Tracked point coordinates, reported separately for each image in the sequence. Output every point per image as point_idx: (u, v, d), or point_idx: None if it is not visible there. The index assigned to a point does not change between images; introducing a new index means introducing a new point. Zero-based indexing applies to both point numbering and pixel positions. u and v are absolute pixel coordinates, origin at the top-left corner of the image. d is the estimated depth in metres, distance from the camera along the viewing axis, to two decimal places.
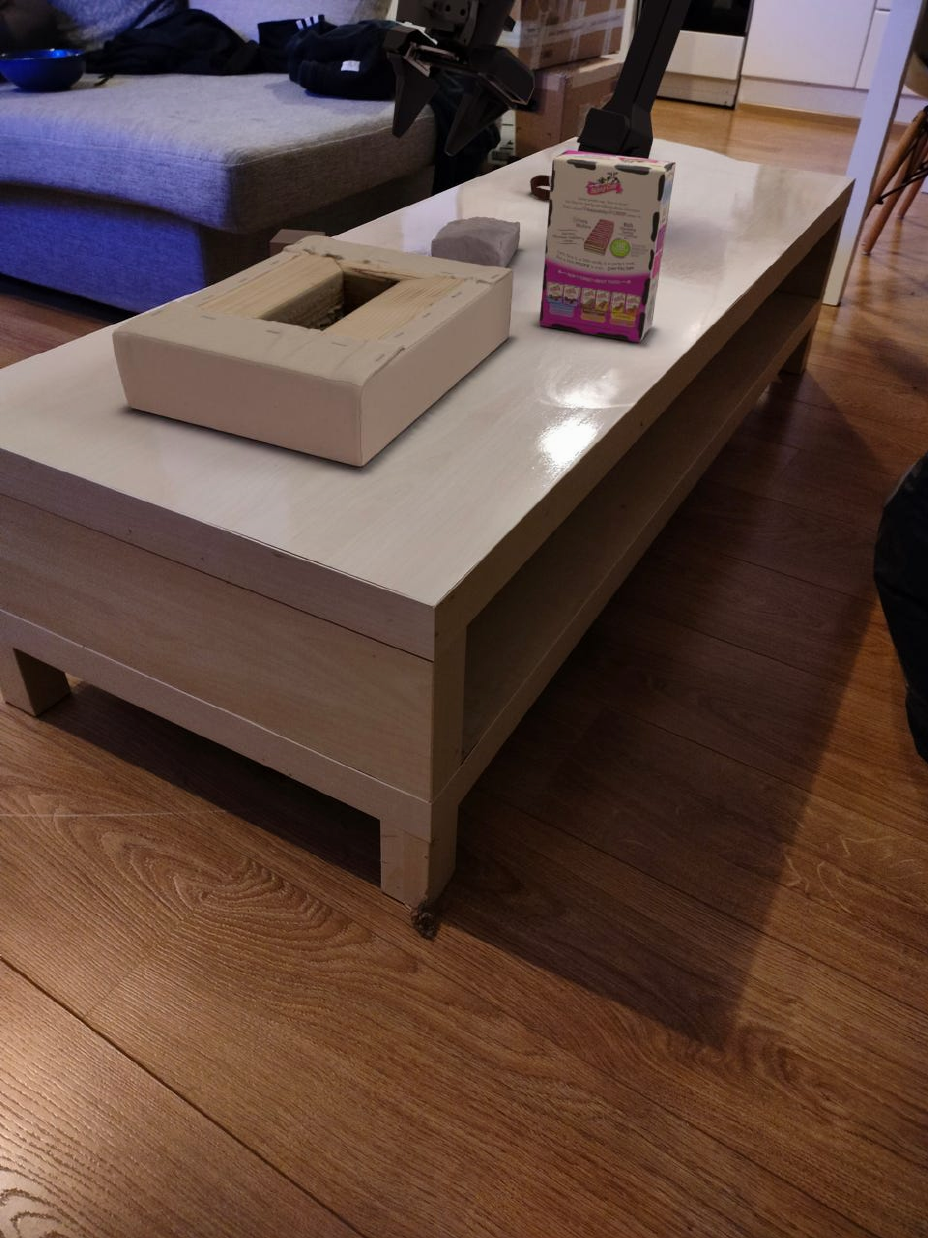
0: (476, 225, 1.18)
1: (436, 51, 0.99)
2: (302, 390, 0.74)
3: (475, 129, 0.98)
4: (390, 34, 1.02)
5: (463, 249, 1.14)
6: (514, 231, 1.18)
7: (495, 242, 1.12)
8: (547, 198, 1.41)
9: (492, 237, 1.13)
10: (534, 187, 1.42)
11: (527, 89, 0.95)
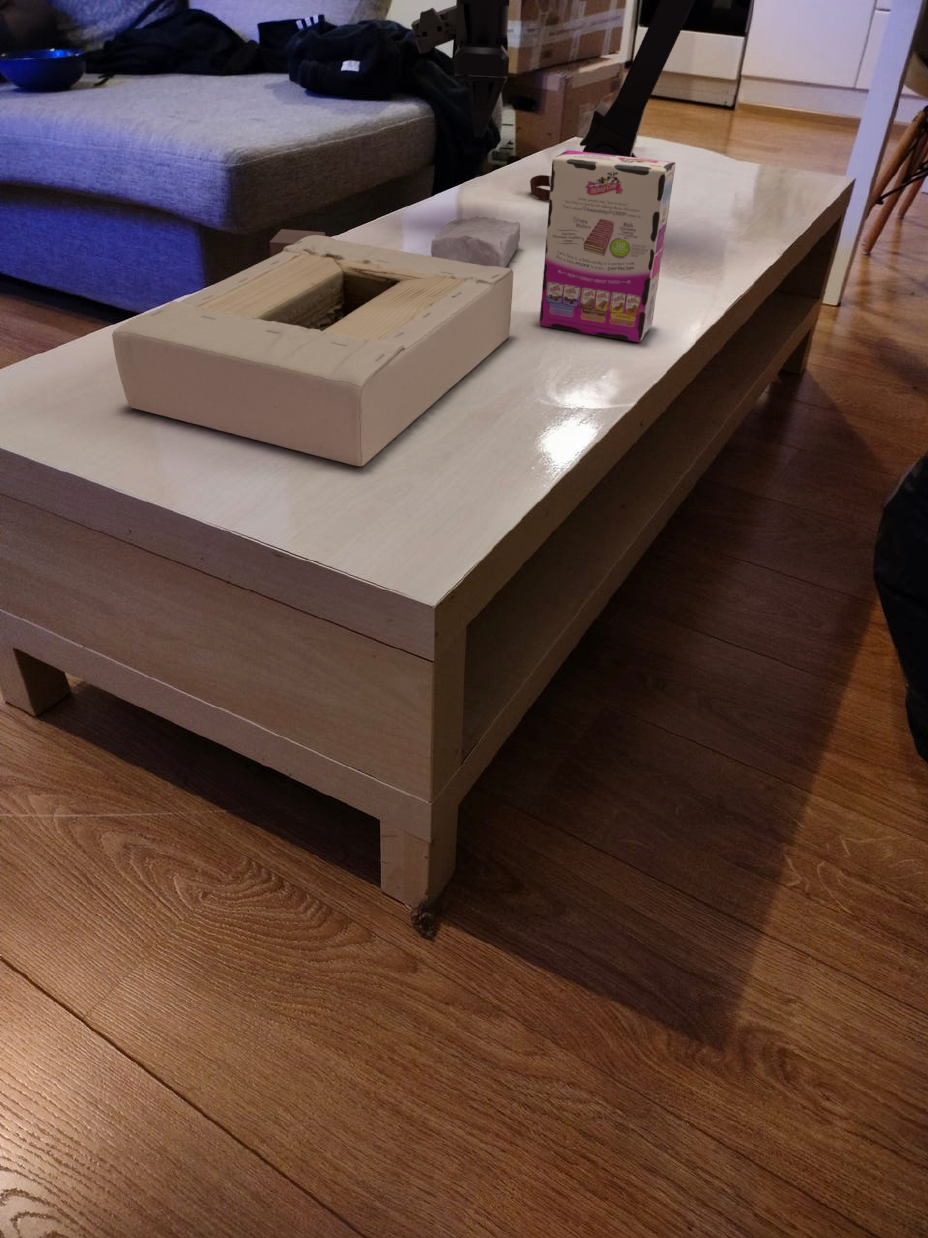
0: (475, 225, 1.18)
1: None
2: (302, 390, 0.74)
3: (488, 108, 1.16)
4: None
5: (463, 249, 1.14)
6: (514, 231, 1.18)
7: (495, 242, 1.12)
8: (547, 198, 1.41)
9: (492, 237, 1.13)
10: (534, 187, 1.42)
11: (498, 66, 1.09)
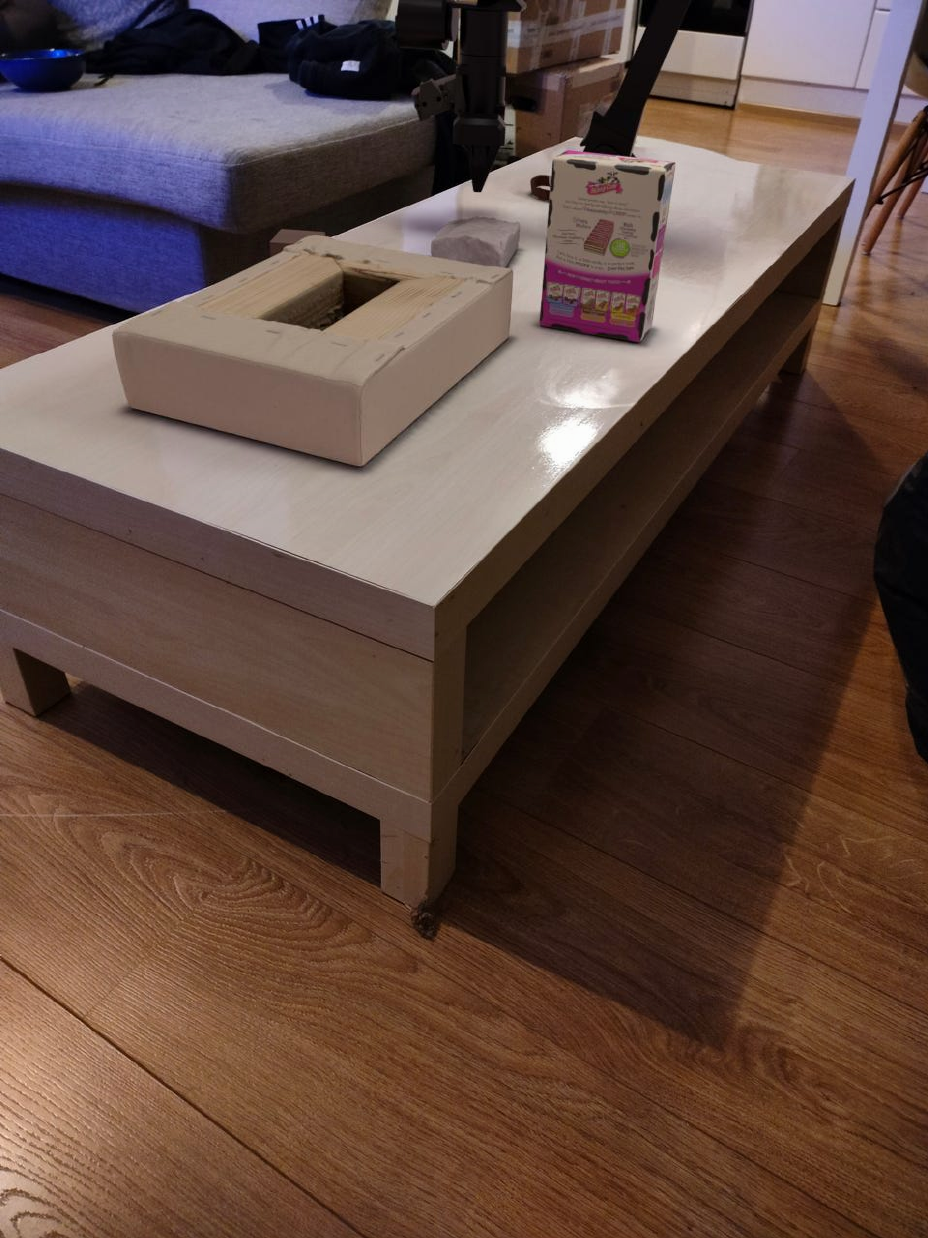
0: (475, 225, 1.18)
1: None
2: (302, 390, 0.74)
3: (486, 167, 1.23)
4: None
5: (462, 249, 1.14)
6: (514, 231, 1.18)
7: (495, 242, 1.12)
8: (547, 198, 1.41)
9: (492, 237, 1.13)
10: (534, 187, 1.42)
11: (494, 136, 1.13)
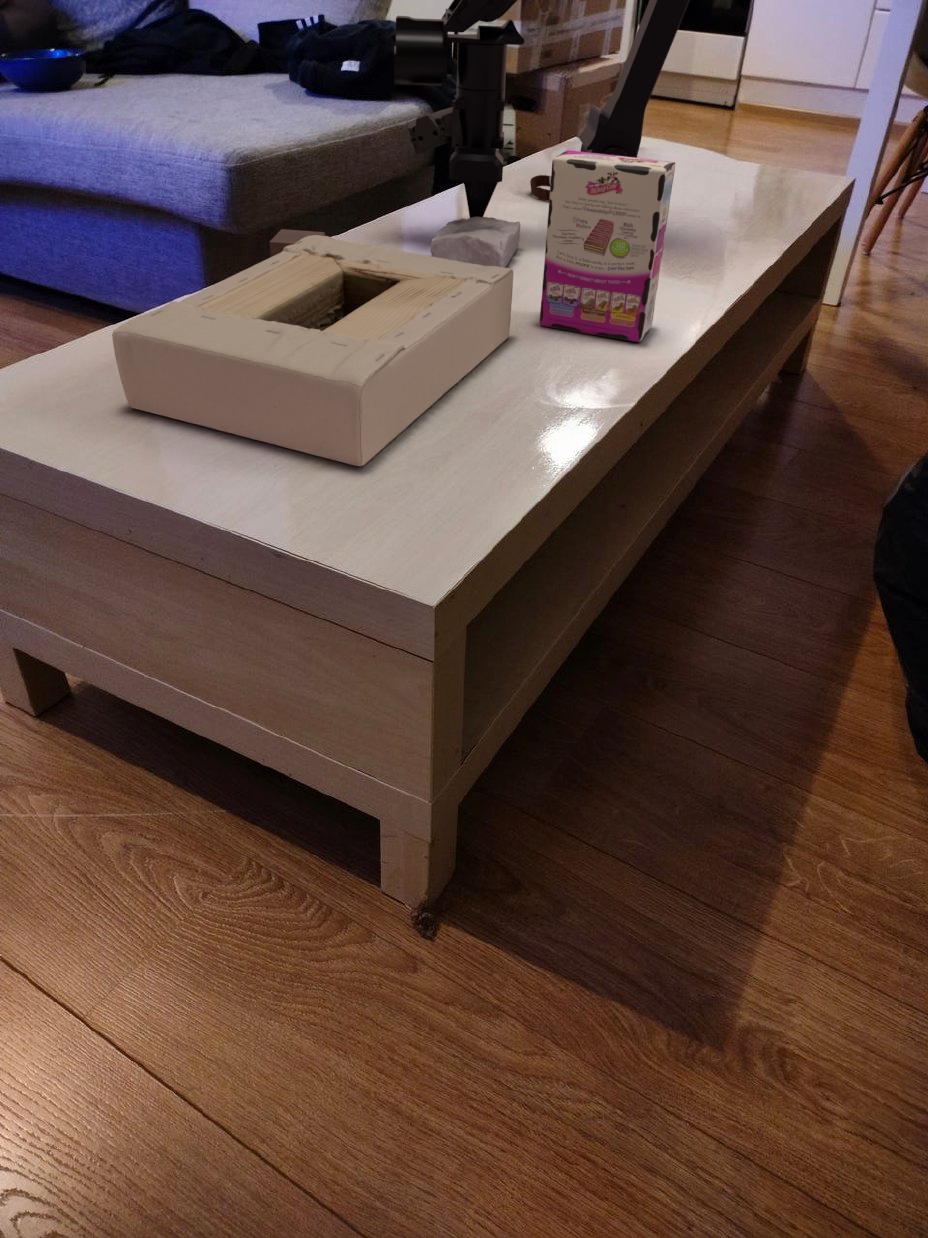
0: (475, 225, 1.18)
1: None
2: (302, 390, 0.74)
3: (484, 200, 1.20)
4: None
5: (462, 249, 1.14)
6: (514, 231, 1.18)
7: (495, 242, 1.12)
8: (547, 198, 1.41)
9: (492, 237, 1.13)
10: (534, 187, 1.42)
11: (492, 172, 1.11)
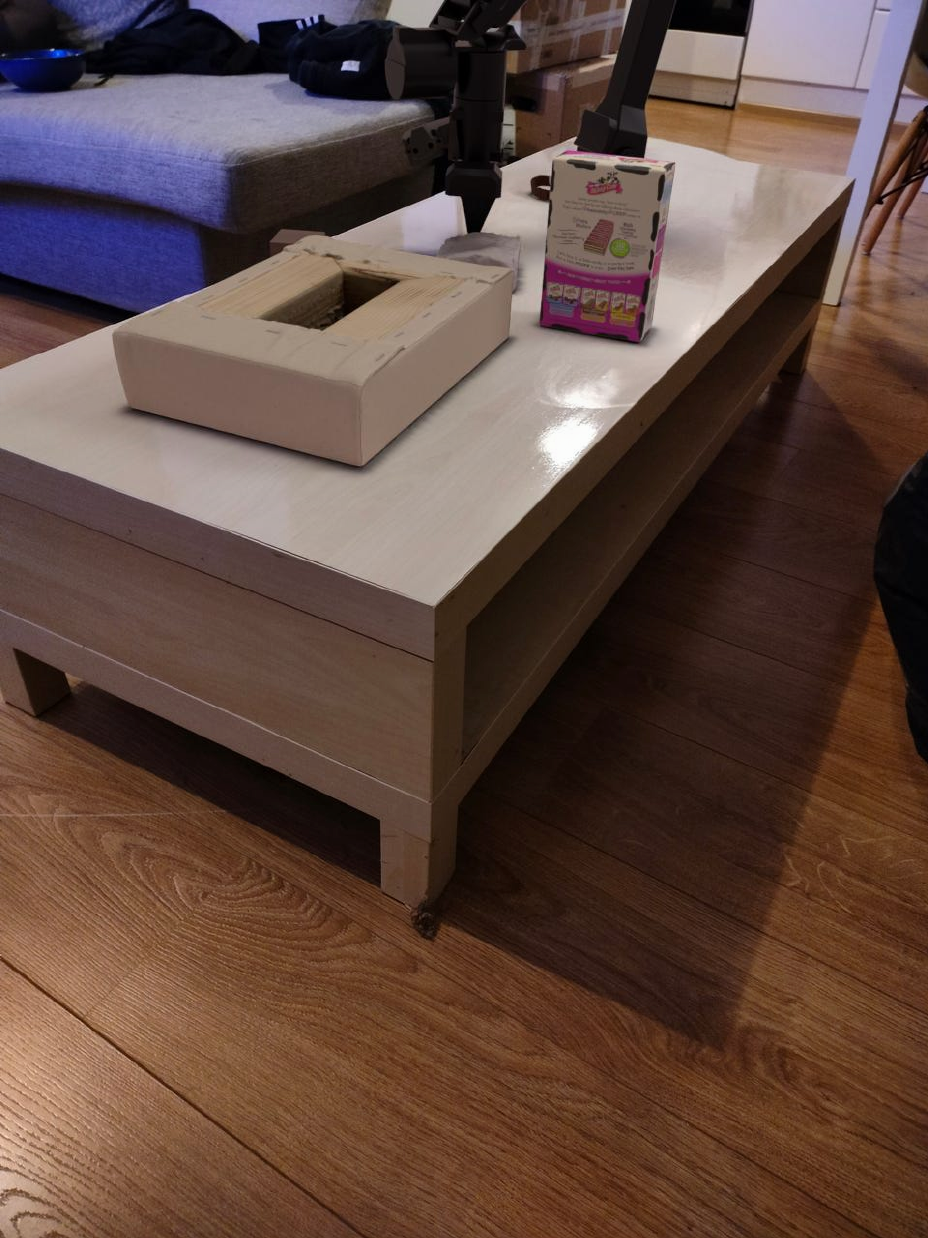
0: (478, 242, 1.13)
1: None
2: (302, 390, 0.74)
3: (482, 215, 1.15)
4: None
5: None
6: (518, 246, 1.13)
7: (508, 259, 1.07)
8: (547, 198, 1.41)
9: (503, 254, 1.07)
10: (534, 187, 1.42)
11: (490, 188, 1.05)
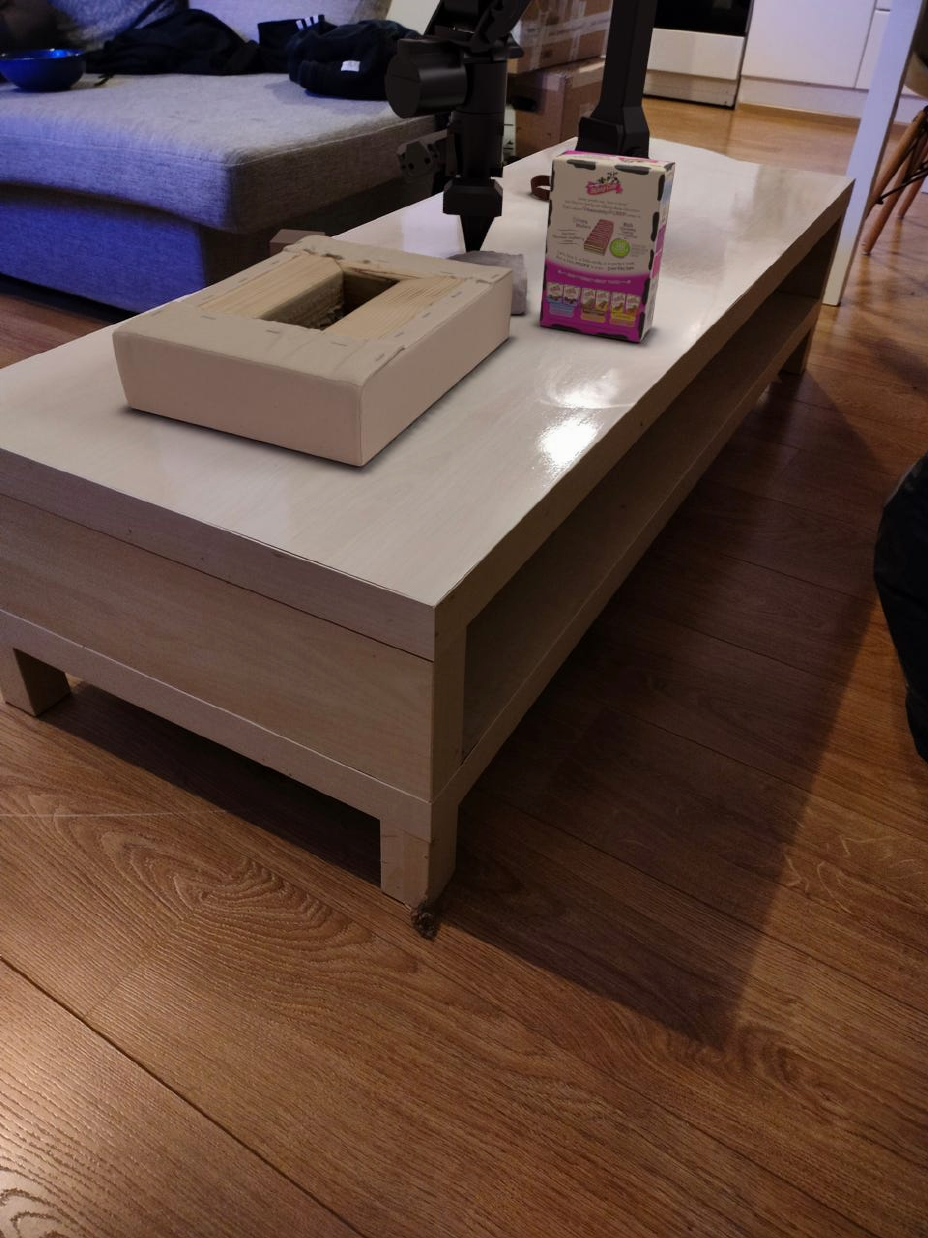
0: (480, 261, 1.07)
1: None
2: (302, 390, 0.74)
3: (482, 232, 1.09)
4: None
5: None
6: (523, 265, 1.08)
7: (517, 280, 1.02)
8: (547, 198, 1.41)
9: None
10: (534, 187, 1.42)
11: (490, 206, 0.99)
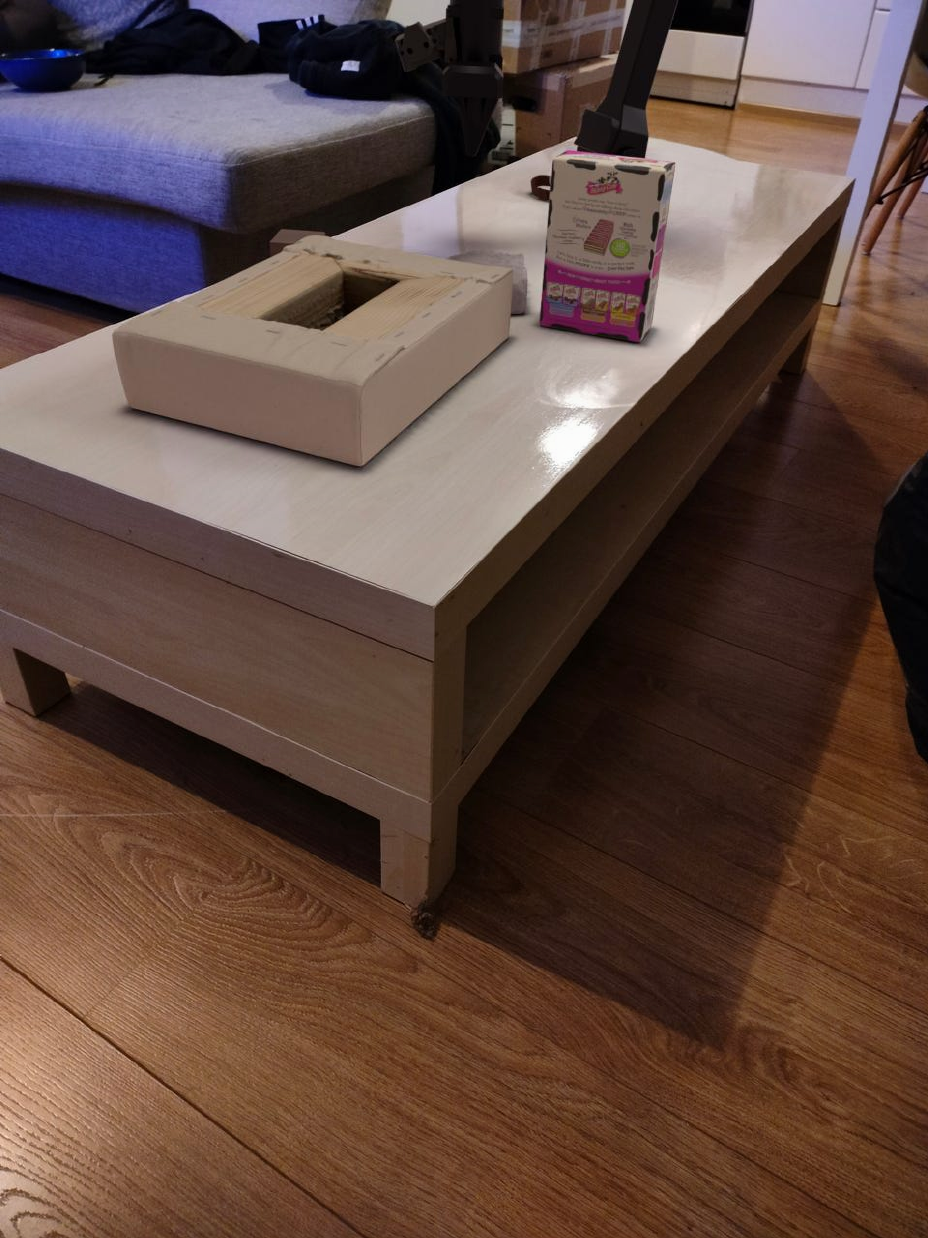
0: (480, 261, 1.07)
1: None
2: (302, 390, 0.74)
3: (481, 126, 1.07)
4: None
5: None
6: (523, 265, 1.08)
7: (517, 280, 1.02)
8: (547, 198, 1.41)
9: None
10: (534, 187, 1.42)
11: (490, 87, 0.98)
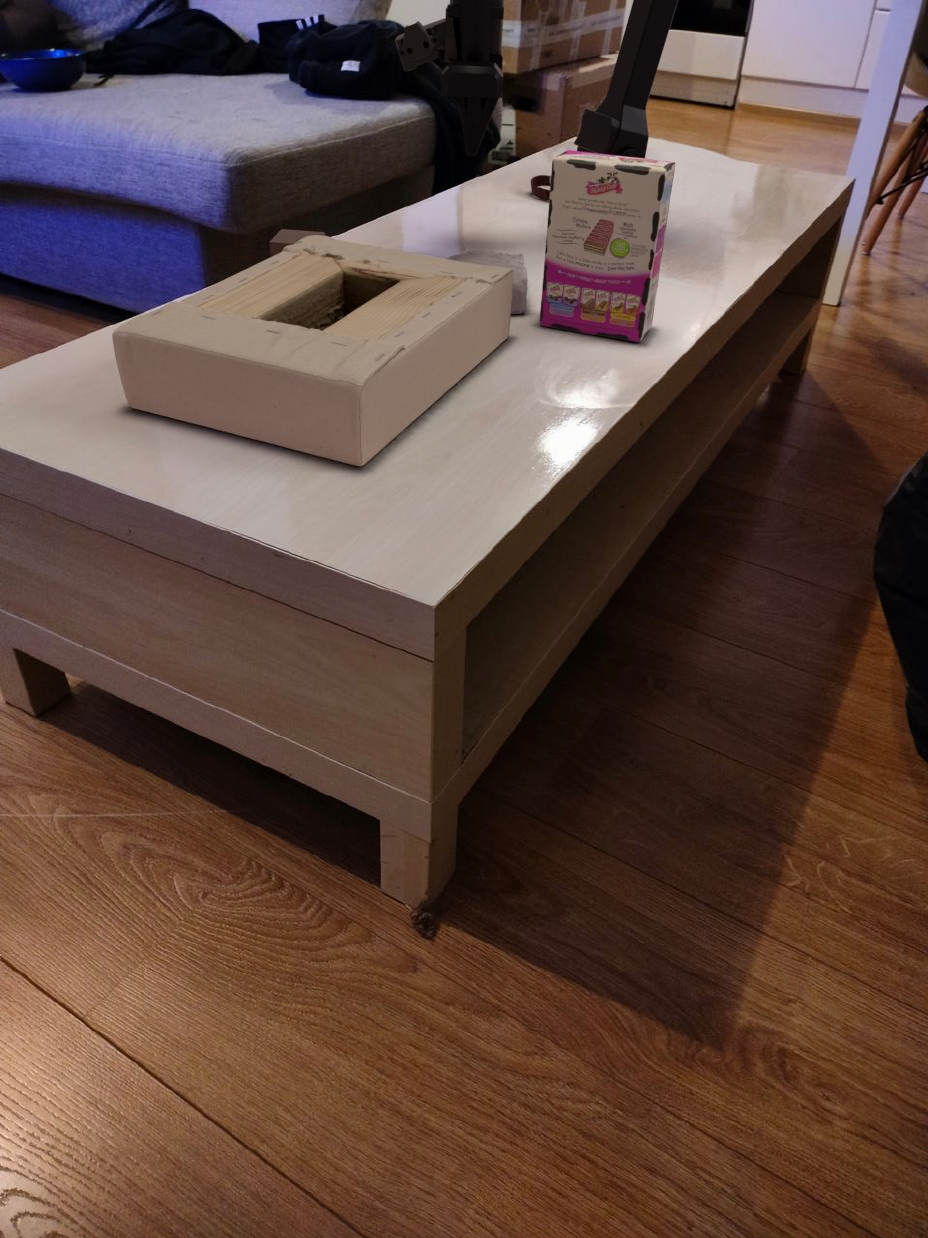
0: (480, 261, 1.07)
1: None
2: (302, 390, 0.74)
3: (481, 126, 1.07)
4: None
5: None
6: (522, 265, 1.08)
7: (517, 280, 1.02)
8: (547, 198, 1.41)
9: None
10: (534, 187, 1.42)
11: (490, 87, 0.98)
